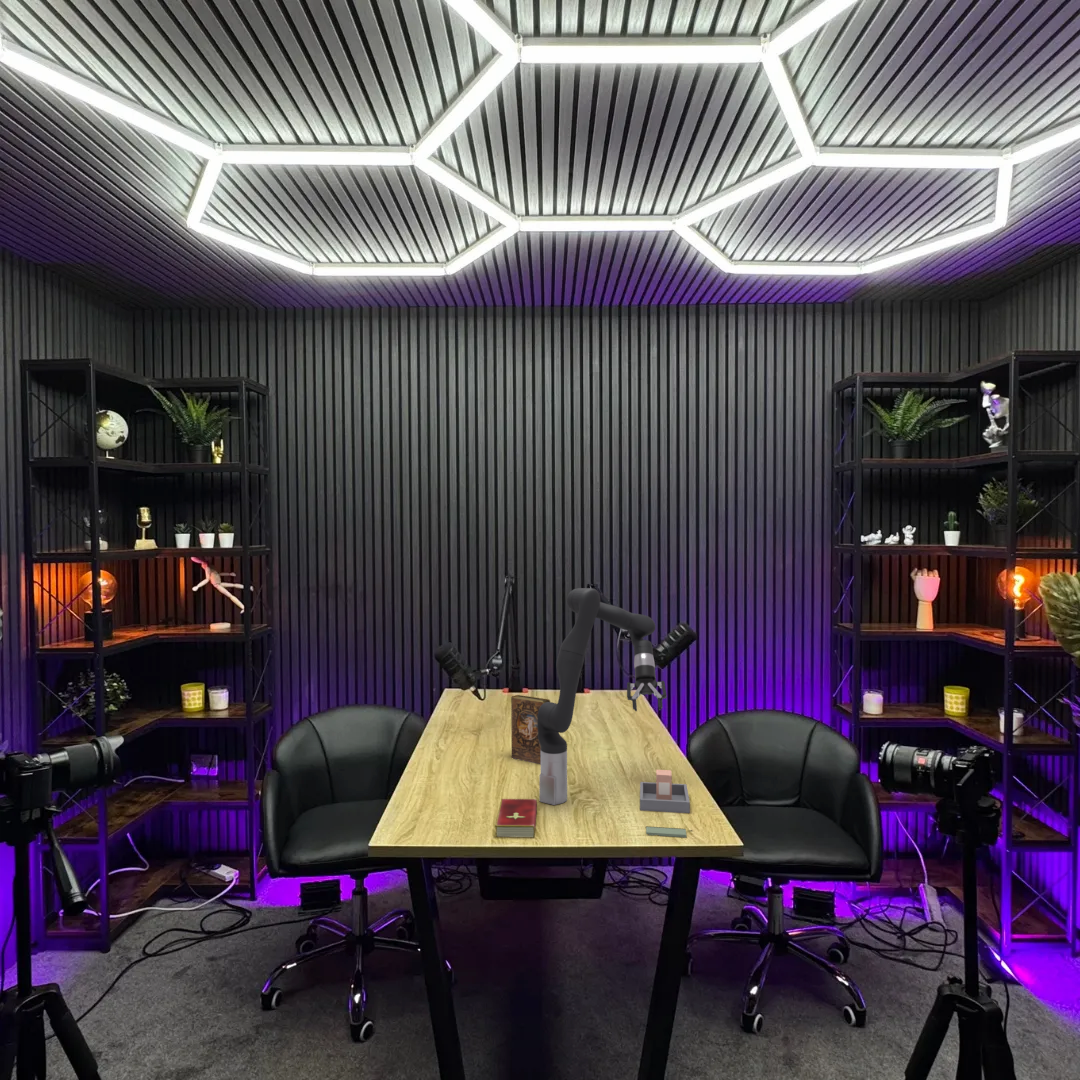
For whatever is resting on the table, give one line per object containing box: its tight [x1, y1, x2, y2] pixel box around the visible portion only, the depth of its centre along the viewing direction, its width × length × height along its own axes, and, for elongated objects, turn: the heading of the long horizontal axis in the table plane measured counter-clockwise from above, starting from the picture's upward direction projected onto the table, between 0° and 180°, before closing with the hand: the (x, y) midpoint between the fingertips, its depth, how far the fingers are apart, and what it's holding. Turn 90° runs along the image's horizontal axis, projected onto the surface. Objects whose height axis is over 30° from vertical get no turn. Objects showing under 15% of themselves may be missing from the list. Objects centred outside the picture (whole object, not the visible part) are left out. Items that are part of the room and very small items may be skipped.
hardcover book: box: [495, 798, 538, 838], centre depth 213 cm, size 12×21×4 cm, turn 178°
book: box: [510, 694, 551, 765], centre depth 273 cm, size 16×6×25 cm, turn 59°
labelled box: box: [655, 769, 673, 800], centre depth 227 cm, size 5×5×10 cm
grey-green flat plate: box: [645, 826, 687, 839], centre depth 209 cm, size 12×12×1 cm
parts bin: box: [639, 781, 691, 814], centre depth 227 cm, size 16×16×4 cm
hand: (647, 710), depth 241 cm, fingers open, 8 cm apart
